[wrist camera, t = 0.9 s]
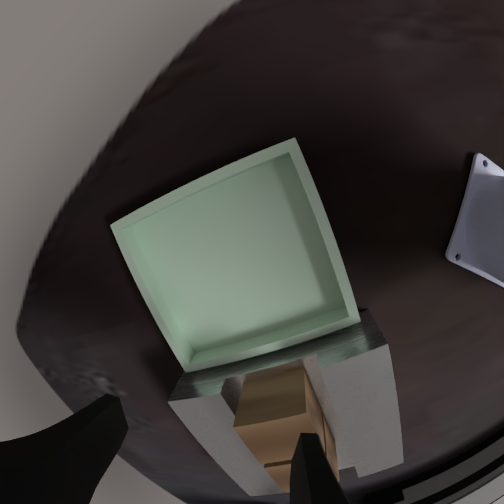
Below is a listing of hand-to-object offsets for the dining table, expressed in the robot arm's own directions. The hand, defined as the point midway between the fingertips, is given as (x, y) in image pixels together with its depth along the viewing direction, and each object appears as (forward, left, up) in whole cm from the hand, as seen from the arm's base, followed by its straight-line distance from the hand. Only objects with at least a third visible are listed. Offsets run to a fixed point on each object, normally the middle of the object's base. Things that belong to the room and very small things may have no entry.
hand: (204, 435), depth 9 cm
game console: (-40, +20, -11) cm, 45 cm away
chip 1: (-4, +3, -7) cm, 9 cm away
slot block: (-7, +6, -10) cm, 14 cm away
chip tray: (+2, -4, -10) cm, 11 cm away
